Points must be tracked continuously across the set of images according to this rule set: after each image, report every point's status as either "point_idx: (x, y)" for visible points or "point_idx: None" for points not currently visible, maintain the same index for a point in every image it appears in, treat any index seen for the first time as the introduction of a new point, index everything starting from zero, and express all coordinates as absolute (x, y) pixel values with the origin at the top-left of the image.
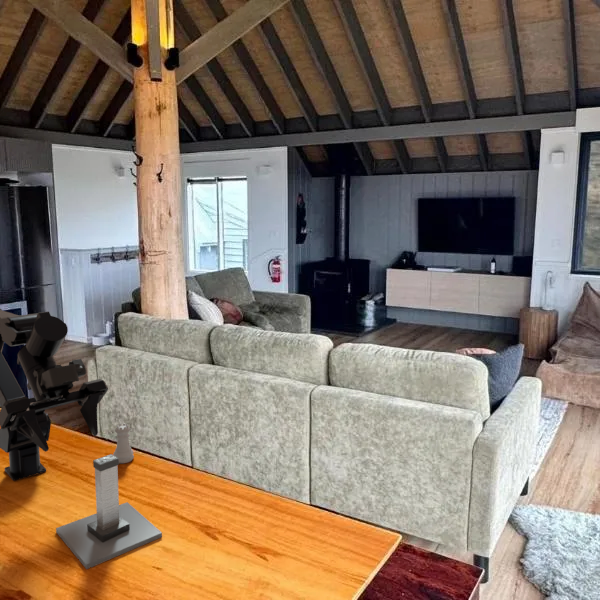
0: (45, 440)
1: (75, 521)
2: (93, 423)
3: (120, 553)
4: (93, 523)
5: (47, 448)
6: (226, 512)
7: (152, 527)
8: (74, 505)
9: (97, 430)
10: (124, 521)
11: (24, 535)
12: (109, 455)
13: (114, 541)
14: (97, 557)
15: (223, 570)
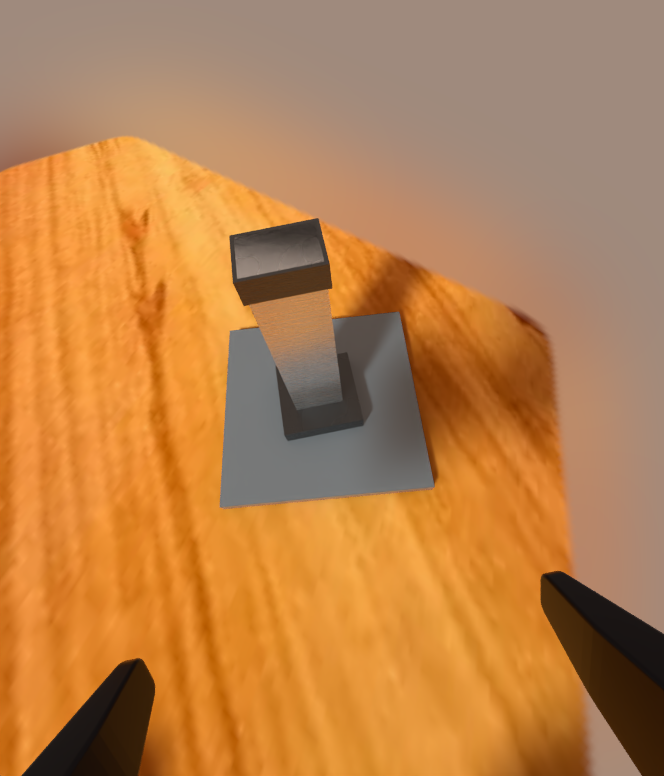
0: (603, 628)
1: (379, 488)
2: (67, 769)
3: None
4: (348, 414)
5: (553, 572)
6: (79, 346)
7: (234, 357)
8: (351, 625)
9: (106, 678)
10: (280, 381)
11: (516, 528)
12: (246, 273)
13: None
14: (373, 321)
15: (210, 219)
